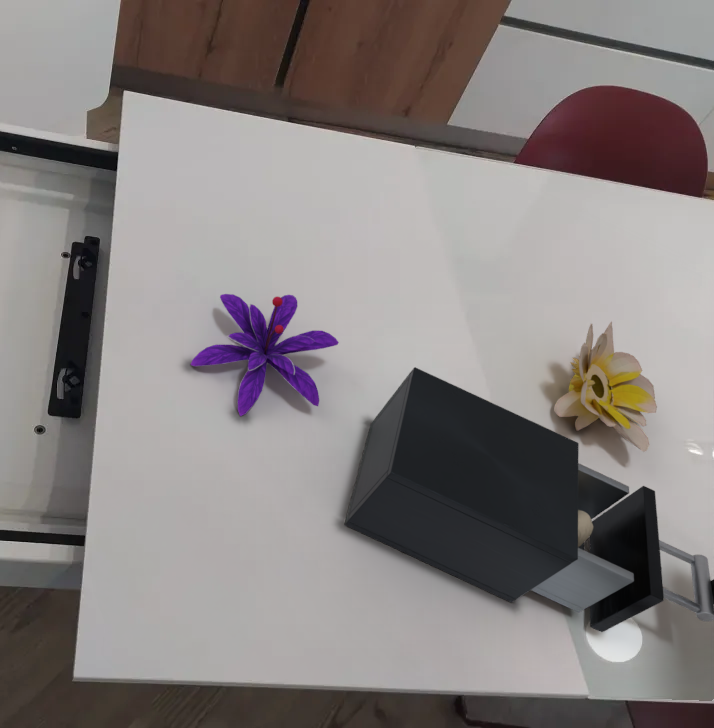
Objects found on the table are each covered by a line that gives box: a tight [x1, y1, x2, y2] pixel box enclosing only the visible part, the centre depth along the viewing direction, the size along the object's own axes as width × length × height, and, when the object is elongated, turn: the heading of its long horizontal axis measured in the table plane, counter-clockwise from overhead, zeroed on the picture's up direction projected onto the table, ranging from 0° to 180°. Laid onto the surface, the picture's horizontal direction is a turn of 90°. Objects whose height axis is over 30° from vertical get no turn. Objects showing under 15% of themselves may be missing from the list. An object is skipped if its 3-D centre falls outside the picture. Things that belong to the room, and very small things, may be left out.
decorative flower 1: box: [190, 293, 339, 417], centre depth 72 cm, size 14×15×7 cm
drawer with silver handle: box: [530, 462, 714, 633], centre depth 67 cm, size 23×11×8 cm, turn 71°
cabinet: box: [344, 366, 579, 603], centre depth 67 cm, size 17×13×10 cm
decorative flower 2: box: [553, 320, 658, 453], centre depth 82 cm, size 15×11×10 cm
